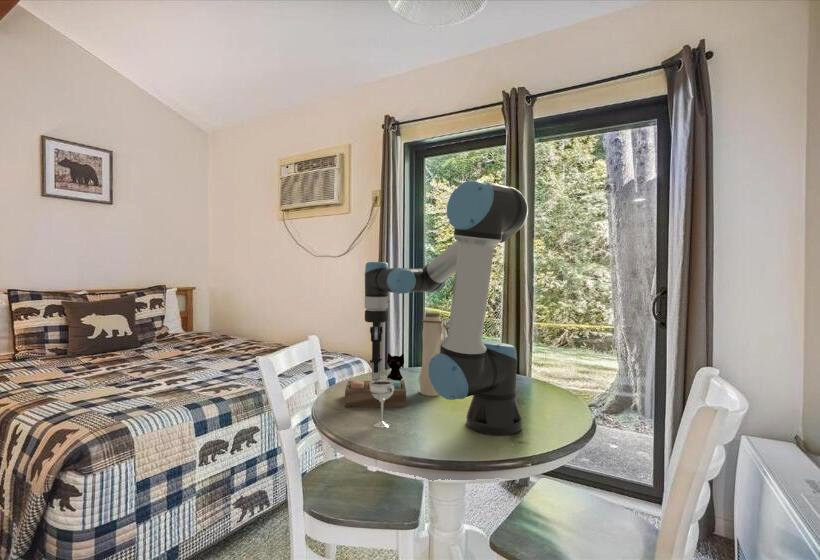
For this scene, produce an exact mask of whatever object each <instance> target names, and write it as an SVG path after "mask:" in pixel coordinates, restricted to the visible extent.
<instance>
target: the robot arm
mask: <svg viewBox="0 0 820 560" xmlns="http://www.w3.org/2000/svg"><path fill="white" fill-rule="evenodd" d="M528 214H529V206H528V202H527V199H526V198H525V196H524V195H523V193H522V192H521V191H520V190H518V189H517V188H514V187H512V186H507V185H502V184H499V183H495V182H493V183H492V182H489V181H486V180H475V179H474V180H473V179H470V180H466V181H464V182H462V183H460V184H459V185H458V186H457V187H456V188H455V189H453V191H452V192H451V194H450V196H449V198H448V201H447V205H446V217H447V219H448V222H449V225H450V226H452V227H453V228H454V230H453V237H454V238H455V241H454V242H453V243H452V244H450V245H449V246H448V247H447V248H446V249H445V250H443V251H442V252H440V254H439V255H437V256H436V257H435V258H434V259H432V260H431V261H430V262H429V263H427V264H426V265H425V266H423V267H421V268H415V267H414V268H410V267H409V268H404V267H396V268H394V267H393V268H391V267H390V268H389V263H388V262H387V261H368V262H366V263H365V266H364V267H365V269H364V309H365V310H364V322H366V323H372V326H370V327H369V333H370V342H371V359H370V360H369V363H371V380H373V379H379V378H381V361H383V358H381V351H380V350H381V348H380V347H381V342H382V334H383V326H381V325H380V324H381V323H387V322H388V321H389V311H388V310H387V309H388V308H389V303H390V302H391V301H390V299H389V298H388V297H389V293H393V294H394V293H395V294H397V295H398V294H399V295H400V294H401V295H403V294H404V295H405V294H409V293H425V292H427V293H428V292H429V293H433V292H438V291H441V290H442V289H443V288H444V287H445V285H446V282H447V281H446V280H447V279H449V278H450V277H452V276H453V275H454V280H453V281H454V282H453V290H452V299H451V306H450V307H451V308H450V314H449V324H448V336H447V338H445V339H444V340H442V341H441V347H440V354H436V355H435V356H434V357H433V358H432V359H431V360H430V362H429V367H428V372H429V378H430V381H431V384H432V385H433V387H434V389H435V390H436V392H437V393H438V394H439V396H440V397H442V398H443V399H444V400H445V399H446V400H449V401H455V400H463V399H465V398H467V397H471V396H472V399H471V402H470V404H469V406H468V410H467V412H466V426H467V427H468V428H469V429H471V430H473V431H475V432H478V433H481V434H485V435H491V436H492V435H493V436H509V435H515V434H517V433H519V432H520V431H521V430H522V428H523V418H522V414H521V412H520V408H519V405H518V402H517V363H518V357H517V348H516V346H514V345H512V344H508V343H504V342H498V341H489V340H482V339H483V334H484V327H485V318H486V311H487V303H488V296H489V288H490V279H491V275H492V274H491V273H492V267H493V266H492V265H493V258H494V251H495V247H496V246H497V245H498V244H501V243H502V244H503V243H504V242H506V241H507V240H509V239H510V238H511V237H513V236H514V235H515V234H517V232H518V231H520V229H522V227H523V226H524V225H525V223H526V220H527V218H528Z"/></svg>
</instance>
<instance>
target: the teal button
mask: <svg viewBox="0 0 820 560" xmlns="http://www.w3.org/2000/svg"><path fill="white" fill-rule="evenodd" d="M393 385H394V388H401V382H400V381H394V383H393Z"/></svg>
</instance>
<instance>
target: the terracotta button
mask: <svg viewBox="0 0 820 560" xmlns="http://www.w3.org/2000/svg"><path fill="white" fill-rule="evenodd" d="M352 381H353V382H351V388H364V382H363V381H364V380H352Z"/></svg>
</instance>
